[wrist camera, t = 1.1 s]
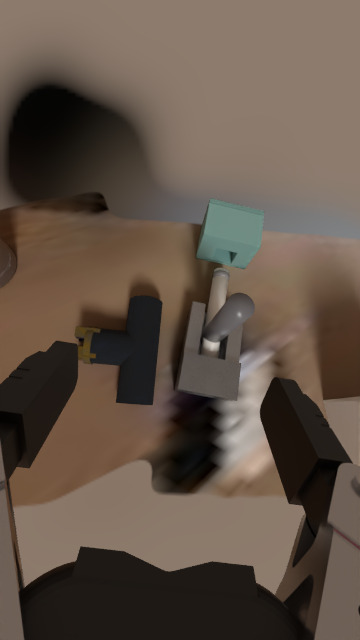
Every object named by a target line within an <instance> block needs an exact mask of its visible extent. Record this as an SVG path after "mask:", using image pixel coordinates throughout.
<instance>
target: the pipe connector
mask: <svg viewBox="0 0 360 640" xmlns="http://www.w3.org/2000/svg"><path fill="white" fill-rule="evenodd" d="M161 313H162V302H161V301H160V300H159V299H157V298H154V297H150V296H134V297H132V298H131V299H130V304H129V311H128V318H127V325H126V331H120V330H110V329H100V328H97V327H91V326H90V327H89V328H86V327H76V331H75V337H76V338H79V341H80V342H84V344H83V347H81V346H78V360H83V362H84V363H85V364H93V363H97V364H109V365H121V369H120V376H119V383H118V391H117V398H116V403H126V404H141V405H153V396H154V386H155V375H156V365H157V354H158V344H159V333H160V323H161Z"/></svg>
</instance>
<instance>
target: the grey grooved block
mask: <svg viewBox="0 0 360 640" xmlns="http://www.w3.org/2000/svg"><path fill="white" fill-rule="evenodd" d="M205 307H206V304H204V303H199V302H195V301H193V302H192V305H191V307H190V309H189V312H188V318H187V323H186V329H185V334H184V339H183V345H182V350H181V356H180V361H179V366H178V372H177V377H176V383H175V388H174V390H175V391H180V392H186V393H191V394H196V395H201V396H206V397H211V398H216V399H221V400H230V401H237V396H238V387H239V377H240V368H241V363H239V356H240V347H241V338H242V329H243V323H242V324H241V325H240V326H238V327H237V328H236V329H235V330H233V331H232V332H231V333H230V334H228V335H227V336H226V337H225V338H223V339H222V340H221V341H220V345H219V353H218V359H217V358H213V357H208V356H203V355H200V354H201V348H202V342H203V341H202V339H201V333H202V331H203V330H204V329H205V323H206V317H207V312H205Z"/></svg>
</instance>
